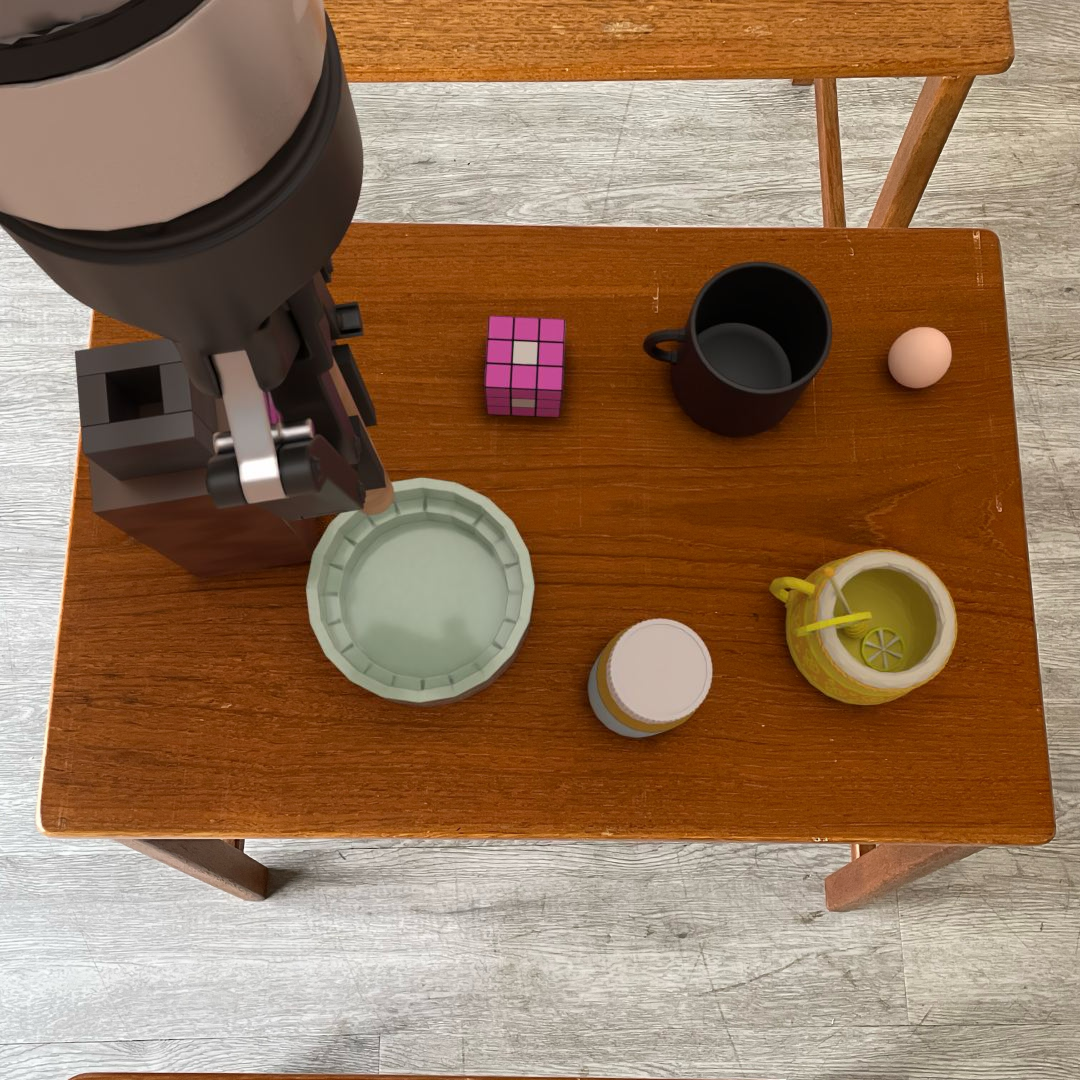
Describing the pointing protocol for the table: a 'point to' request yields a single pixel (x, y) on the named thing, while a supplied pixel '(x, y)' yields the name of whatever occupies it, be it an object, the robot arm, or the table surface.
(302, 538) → the utensil stand
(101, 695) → the table surface
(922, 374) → the egg
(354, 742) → the table surface
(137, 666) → the table surface
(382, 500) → the stirring stick
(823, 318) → the mug
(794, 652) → the mug
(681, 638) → the bottle
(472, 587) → the bowl
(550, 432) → the table surface
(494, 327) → the puzzle toy
